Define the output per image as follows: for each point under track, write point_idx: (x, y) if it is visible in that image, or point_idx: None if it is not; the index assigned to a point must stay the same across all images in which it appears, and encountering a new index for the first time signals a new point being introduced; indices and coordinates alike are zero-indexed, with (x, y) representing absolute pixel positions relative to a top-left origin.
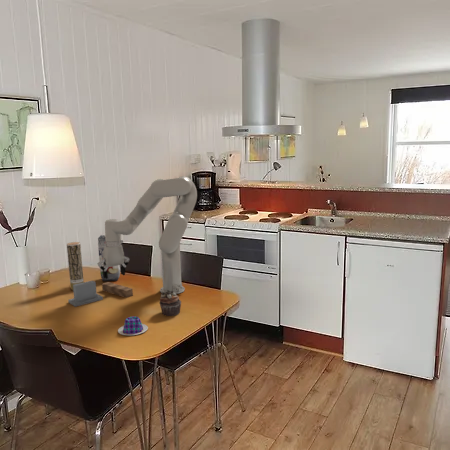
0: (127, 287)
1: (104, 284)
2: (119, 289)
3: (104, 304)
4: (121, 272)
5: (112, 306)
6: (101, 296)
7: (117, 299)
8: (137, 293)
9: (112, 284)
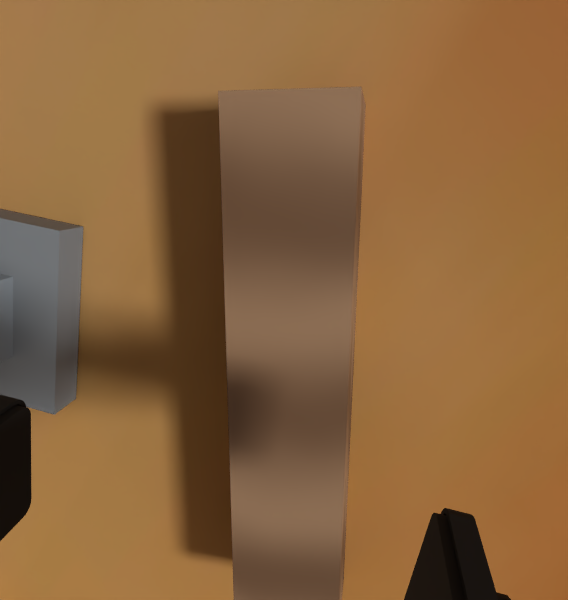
0: (334, 578)
1: (221, 168)
2: (233, 521)
3: None
4: (433, 568)
5: (49, 595)
6: (48, 401)
7: (173, 520)
8: None
9: (303, 287)
